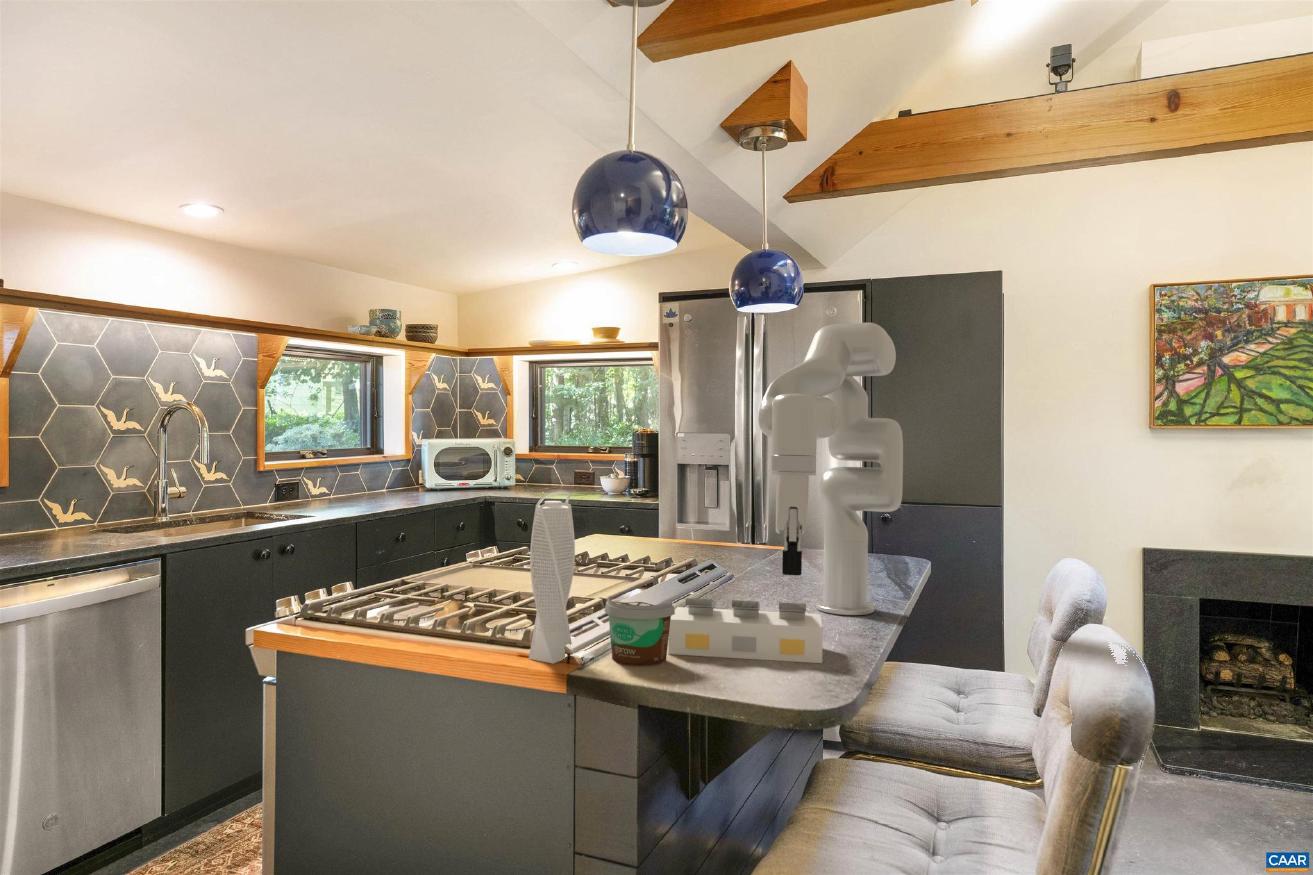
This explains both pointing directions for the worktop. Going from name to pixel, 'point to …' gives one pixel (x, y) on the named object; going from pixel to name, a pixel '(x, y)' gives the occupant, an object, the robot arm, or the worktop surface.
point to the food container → (639, 632)
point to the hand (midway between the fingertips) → (791, 574)
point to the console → (746, 634)
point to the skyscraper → (551, 577)
